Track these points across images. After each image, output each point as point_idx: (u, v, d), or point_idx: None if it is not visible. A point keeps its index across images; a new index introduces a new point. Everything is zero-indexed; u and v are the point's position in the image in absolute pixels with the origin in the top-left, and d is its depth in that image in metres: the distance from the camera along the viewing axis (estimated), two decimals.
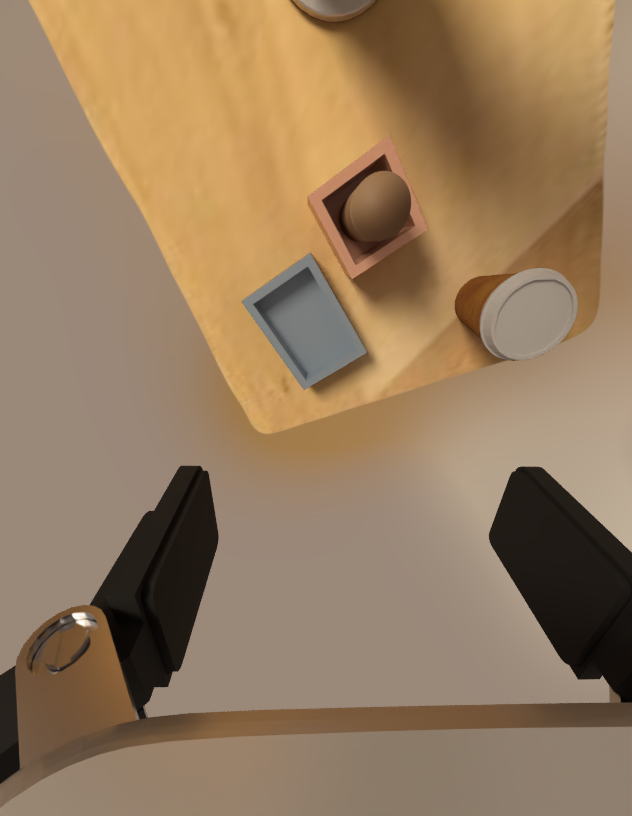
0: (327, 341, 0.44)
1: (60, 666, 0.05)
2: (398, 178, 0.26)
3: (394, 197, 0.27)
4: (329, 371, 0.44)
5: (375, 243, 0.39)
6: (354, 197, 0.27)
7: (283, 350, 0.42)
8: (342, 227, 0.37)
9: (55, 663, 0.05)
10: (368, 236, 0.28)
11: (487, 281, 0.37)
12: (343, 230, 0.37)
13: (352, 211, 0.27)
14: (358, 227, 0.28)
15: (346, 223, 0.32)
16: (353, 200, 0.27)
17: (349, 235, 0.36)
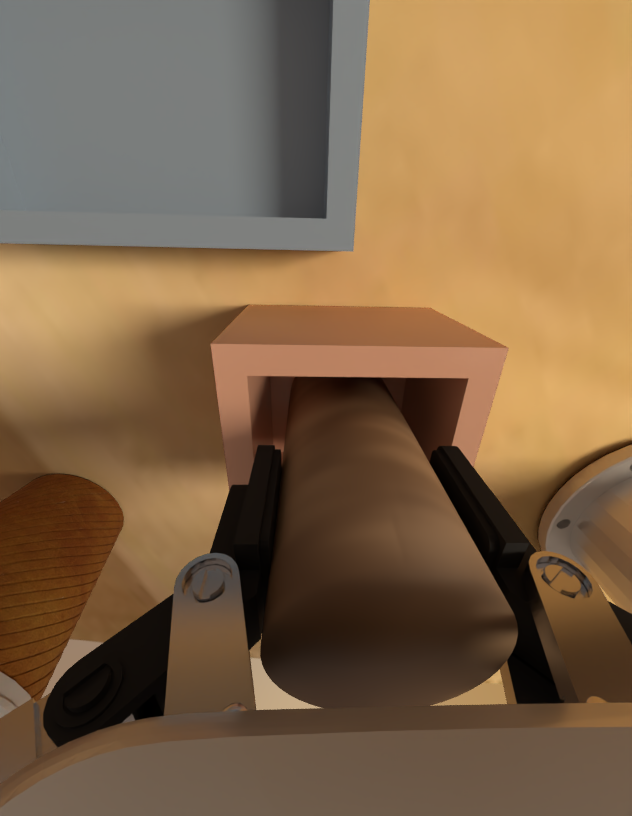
0: (65, 124, 0.12)
1: (202, 598, 0.06)
2: (421, 702, 0.07)
3: (383, 686, 0.07)
4: None
5: (275, 400, 0.17)
6: (499, 601, 0.06)
7: None
8: None
9: (199, 594, 0.06)
10: (322, 591, 0.05)
11: (77, 586, 0.17)
12: None
13: (461, 574, 0.06)
14: (387, 575, 0.05)
15: (372, 414, 0.10)
16: (492, 592, 0.06)
17: (327, 378, 0.13)
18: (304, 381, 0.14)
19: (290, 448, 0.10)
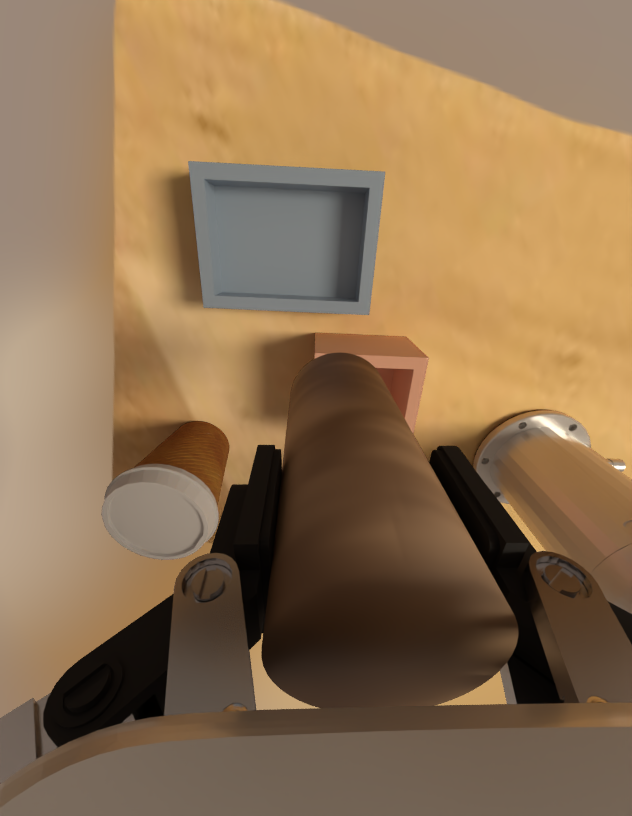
0: (247, 257, 0.28)
1: (202, 597, 0.06)
2: (422, 703, 0.07)
3: (383, 687, 0.07)
4: (201, 232, 0.25)
5: None
6: (500, 603, 0.06)
7: (276, 179, 0.23)
8: (349, 364, 0.14)
9: (199, 594, 0.06)
10: (323, 593, 0.05)
11: (221, 473, 0.32)
12: (341, 360, 0.15)
13: (462, 575, 0.06)
14: (388, 576, 0.05)
15: (373, 415, 0.10)
16: (493, 594, 0.06)
17: (328, 379, 0.13)
18: (304, 382, 0.14)
19: (291, 449, 0.10)
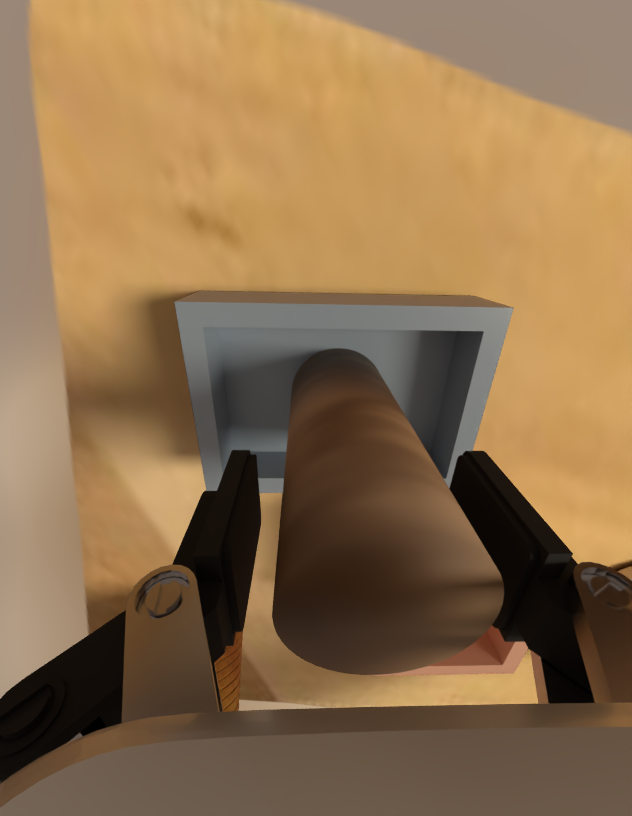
0: (271, 408, 0.18)
1: (157, 613, 0.06)
2: (418, 664, 0.08)
3: (383, 646, 0.08)
4: (200, 400, 0.15)
5: None
6: (486, 561, 0.06)
7: (326, 324, 0.14)
8: (348, 358, 0.15)
9: (155, 610, 0.06)
10: (328, 552, 0.06)
11: (238, 684, 0.23)
12: (341, 355, 0.16)
13: (452, 536, 0.06)
14: (387, 536, 0.06)
15: (371, 403, 0.11)
16: (480, 553, 0.06)
17: (328, 372, 0.14)
18: (306, 376, 0.15)
19: (294, 436, 0.11)
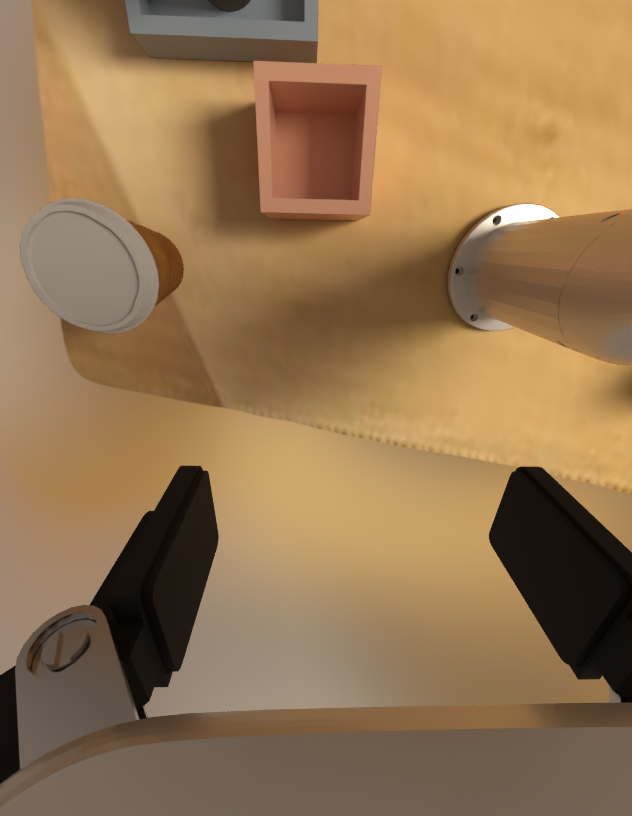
0: None
1: (60, 666, 0.05)
2: None
3: None
4: None
5: (279, 164, 0.30)
6: None
7: None
8: None
9: (55, 663, 0.05)
10: None
11: (168, 264, 0.29)
12: None
13: None
14: None
15: None
16: None
17: None
18: None
19: None
